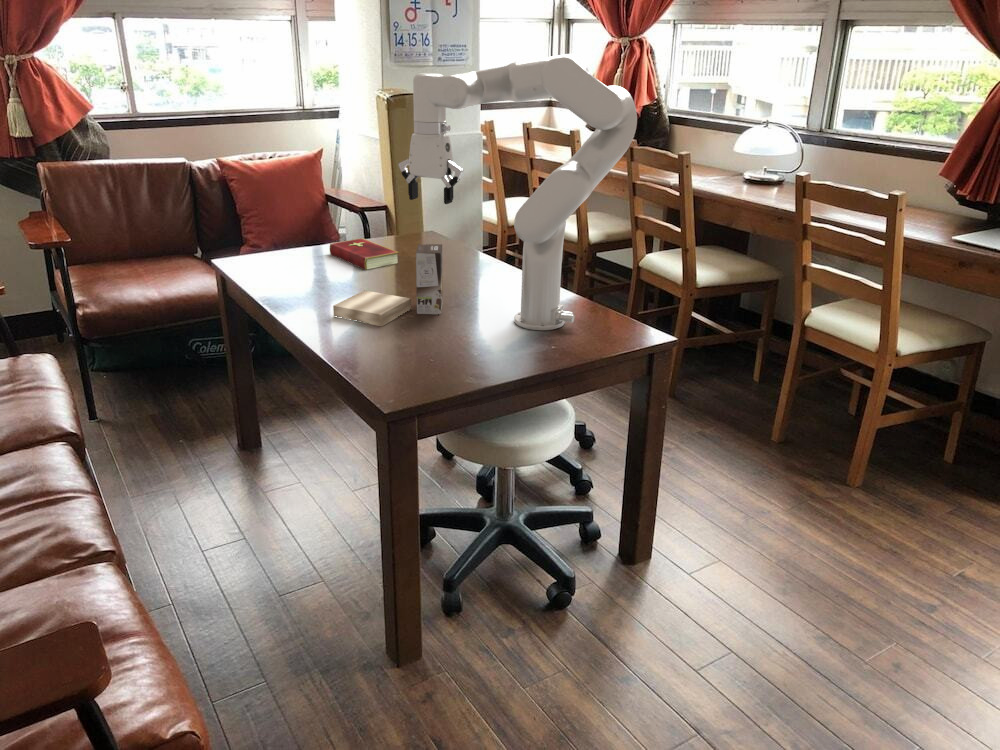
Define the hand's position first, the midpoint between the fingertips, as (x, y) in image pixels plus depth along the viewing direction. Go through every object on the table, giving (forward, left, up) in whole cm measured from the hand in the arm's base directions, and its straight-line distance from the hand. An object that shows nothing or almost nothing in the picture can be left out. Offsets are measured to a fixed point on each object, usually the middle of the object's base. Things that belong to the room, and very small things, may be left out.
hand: (430, 200), depth 199 cm
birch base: (+11, +10, -28) cm, 32 cm away
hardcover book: (+41, -31, -29) cm, 59 cm away
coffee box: (0, 0, -28) cm, 28 cm away
